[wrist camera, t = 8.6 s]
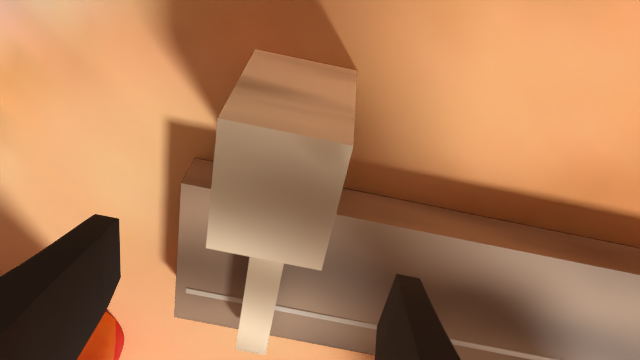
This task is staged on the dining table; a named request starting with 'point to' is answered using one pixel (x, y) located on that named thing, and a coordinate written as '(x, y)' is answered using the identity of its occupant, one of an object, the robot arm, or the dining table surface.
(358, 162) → the dining table surface
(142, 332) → the dining table surface
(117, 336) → the paper cup
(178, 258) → the plank
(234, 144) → the wooden mallet
